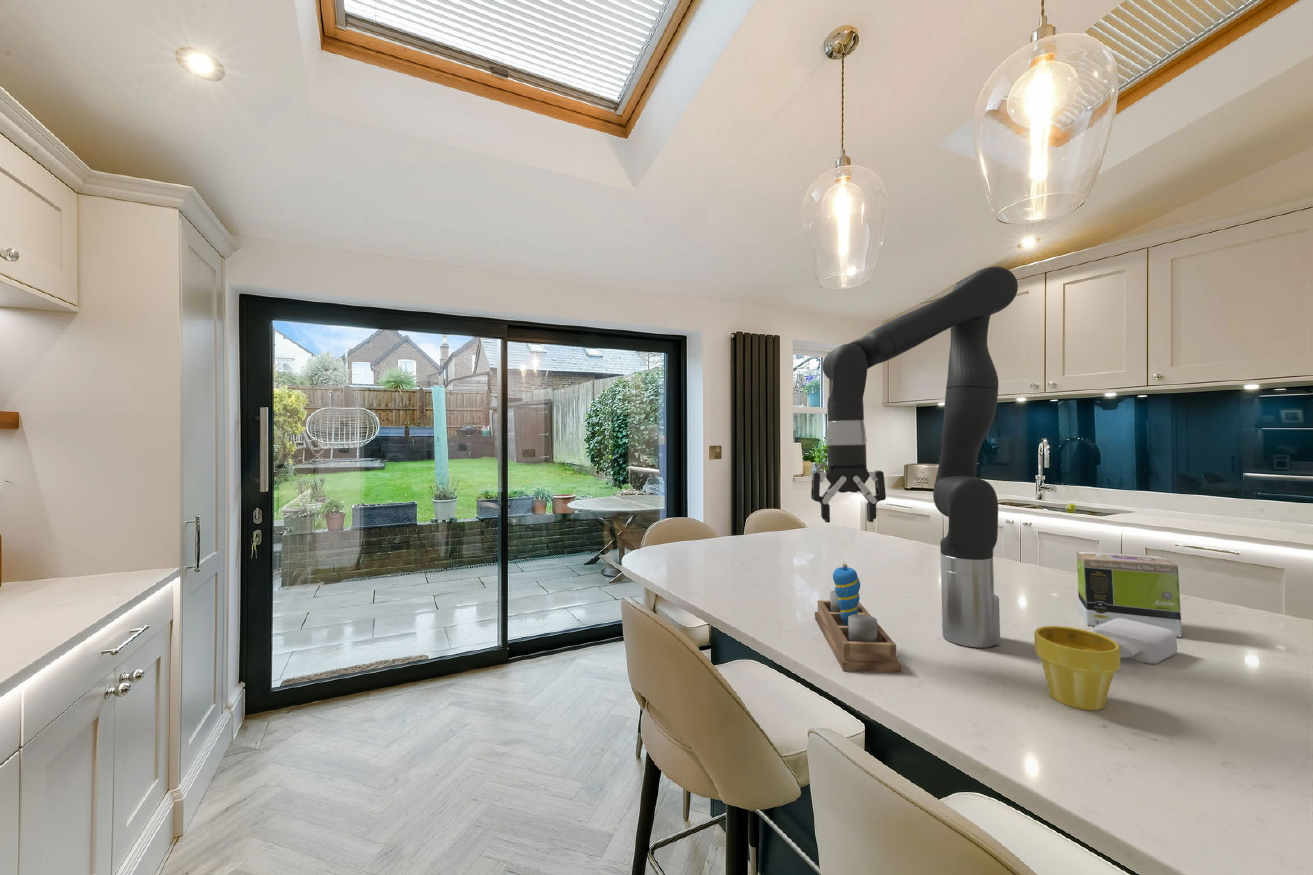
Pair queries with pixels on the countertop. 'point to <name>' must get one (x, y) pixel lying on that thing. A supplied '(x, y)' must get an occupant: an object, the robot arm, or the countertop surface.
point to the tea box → (1129, 589)
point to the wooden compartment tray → (856, 639)
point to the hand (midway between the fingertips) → (848, 521)
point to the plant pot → (1077, 665)
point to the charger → (1140, 640)
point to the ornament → (847, 591)
